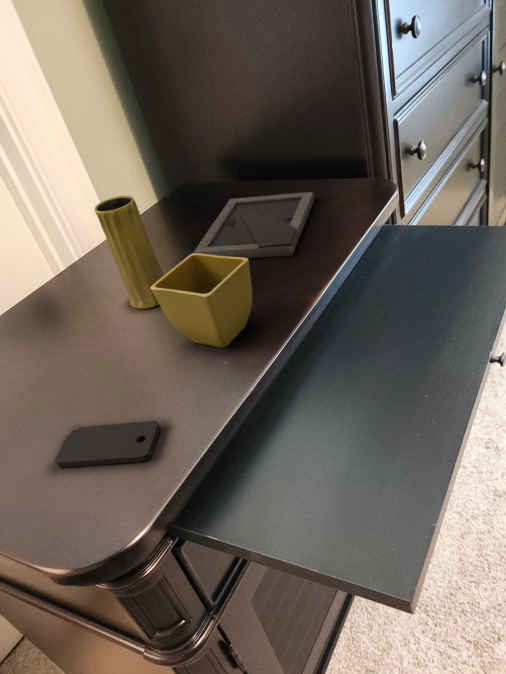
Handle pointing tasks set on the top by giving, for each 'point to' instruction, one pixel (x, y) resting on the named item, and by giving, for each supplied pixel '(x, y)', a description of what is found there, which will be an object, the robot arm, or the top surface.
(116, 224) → the vase
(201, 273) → the flower pot
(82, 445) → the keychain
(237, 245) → the picture frame
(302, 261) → the top surface
